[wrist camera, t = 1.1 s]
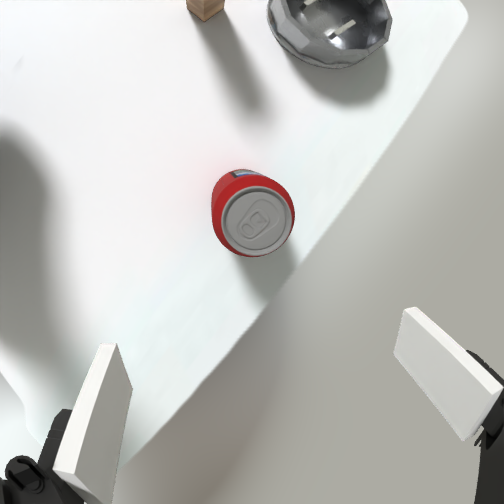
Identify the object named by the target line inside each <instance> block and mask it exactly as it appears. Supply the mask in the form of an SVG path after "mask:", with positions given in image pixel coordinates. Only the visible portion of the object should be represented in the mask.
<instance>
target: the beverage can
mask: <svg viewBox="0 0 504 504" xmlns="http://www.w3.org/2000/svg"><path fill="white" fill-rule="evenodd" d="M211 210H212V223H213V228H214V231H215V234H216V236H217V238H218V239H219V241H220V242H221V243H222V244H223V245H224V246H225V247H226V248H227V249H229V250H230V251H232V252H233V253H235V254H238V255H241V256H246V257H259V256H264V255H267V254H269V253H271V252H273V251H275V250H276V249H278V248H279V247H280V246H281V245H282V244H283V243H284V242H285V241H286V240H287V238H288V237H289V235H290V233H291V231H292V228H293V225H294V219H295V211H294V205H293V202H292V200H291V197H290V196H289V194H288V192H287V191H286V190H285V189H284V188H283V187H282V186H281V185H280V184H279V183H277V182H276V181H274V180H272V179H270V178H268V177H266V176H264V175H262V174H259V173H257V172H254V171H251V170H246V169H239V170H234V171H231V172H229V173H227V174H225V175H224V176H223V177H221V178H220V179H219V181H218V182H217V183H216V185H215V187H214V189H213V193H212V202H211Z"/></svg>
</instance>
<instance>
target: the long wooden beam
mask: <svg viewBox="0 0 504 504" xmlns="http://www.w3.org/2000/svg"><path fill="white" fill-rule="evenodd" d="M224 2H225V0H186V4H187V9H188V10H190V11H191V12H192V13H193V14H195V15H196V16H197V17H198V18H200V19H201V20H202V21H203V22H205V21H207V20H208V19H209V18H211V17H212V16H214V15H215V14H216V13H218V12H219V11H221V10H222V9H224Z"/></svg>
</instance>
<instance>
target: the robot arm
mask: <svg viewBox="0 0 504 504" xmlns="http://www.w3.org/2000/svg"><path fill="white" fill-rule="evenodd" d="M393 355H394V356H395V357H396V358H397V359H398V361H399V362H400V363H401V364H402V365H403V367H404V368H405V369H406V370H407V372H408V373H409V374H410V375H411V376H412V378H413V379H414V380H415V381H416V383H417V384H418V385H419V386H420V387H421V389H422V390H423V391H424V393H425V394H426V395H427V396H428V398H429V399H430V400H431V401H432V403H433V404H434V405H435V406H436V408H437V409H438V410H439V411H440V413H441V414H442V415H443V417H444V418H445V419H446V420H447V422H448V423H449V424H450V426H451V427H452V428H453V429H454V431H455V432H456V433H457V435H458V436H459V437H460V439H461V440H462V441H465V440H467V439H468V438H470V437H472V436H473V435H475V433H476V432H477V431H478V429H479V428H480V426H481V425H482V426H483V427H484V430H483V431H482V433H481V434H480V436H479V437H478V439H477V440H476V441H475V444H474V446H476V445H477V444H478V443H479V441H480V440H481V444H480V445H479V447H481V453H480V466H479V475H478V482H477V489H476V496H475V502H474V504H504V380H503V379H502V378H501V377H500V376H499V375H498V374H497V373H496V372H495V371H494V370H493V369H492V368H489V366H488V364H486V363H484V361H483V360H482V359H481V358H480V357H479V356H478V355H477V354H475V353H473V352H471V351H469V350H466V351H465V350H464V349H463V348H462V347H461V346H460V345H459V344H458V343H456V342H455V341H454V340H453V339H452V338H451V337H450V336H449V335H447V334H446V333H445V332H444V331H443V330H442V329H441V328H440V327H438V326H437V325H436V324H435V323H434V322H433V321H432V320H431V319H429V318H428V317H427V316H426V315H425V314H424V313H422V312H421V311H420V310H419V309H418V308H417V307H412V308H407V309H404V311H403V315H402V320H401V324H400V329H399V333H398V338H397V342H396V345H395V349H394V353H393ZM132 391H133V388H132V386H131V383H130V380H129V378H128V375H127V372H126V369H125V367H124V364H123V361H122V358H121V355H120V352H119V349H118V346H117V343H101V344H100V346H99V349H98V351H97V353H96V355H95V358H94V360H93V362H92V364H91V367H90V369H89V371H88V374H87V376H86V378H85V381H84V383H83V386H82V388H81V391H80V393H79V396H78V398H77V401H76V403H75V406H74V408H73V410H69V409H62V410H61V411H60V412H59V414H58V415H57V416H56V417H55V418H54V421H53V423H52V426H51V430H50V431H49V433H48V436H47V437H48V438H46V441H45V444H44V446H43V449H42V452H41V455H40V458H39V460H38V463H36V462H35V461H34V460H33V459H32V458H30V457H28V456H23V455H21V456H16V457H15V458H13V459H11V460H10V461H9V463H8V464H7V466H6V469H5V476H6V478H7V479H8V480H3V479H2V478H1V477H0V504H84V501H85V502H86V503H87V504H112V497H113V490H114V484H115V477H116V471H117V465H118V459H119V454H120V448H121V443H122V437H123V432H124V427H125V423H126V418H127V413H128V408H129V404H130V399H131V395H132Z"/></svg>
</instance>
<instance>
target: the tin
mask: <svg viewBox="0 0 504 504" xmlns="http://www.w3.org/2000/svg"><path fill="white" fill-rule="evenodd" d="M267 20H268V24H269V26H270V29H271V31H272V33H273V34H274V36H275V37H276V39H277V40H278V42H279V43H280V44H281V45H282V46H283V47H284V48H285V49H286V50H288V51H289V52H290V53H291V54H293V55H294V56H296V57H297V58H299V59H301V60H303V61H305V62H307V63H309V64H312V65H315V66H319V67H323V68H345V67H348V66H351V65H354V64H356V63H358V62H360V61H361V60H363V59H364V58H365V57H366V56H368V55H370V54H371V53H372V52H374V51H375V50H376V49H378V48H379V47H381V46H382V45H383V44H385V43H386V42H387V41H388V39H389V34H390V29H391V24H392V17H391V14H390V12H389V9H388V6H387V4H386V1H385V0H269V1H268V5H267Z"/></svg>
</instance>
